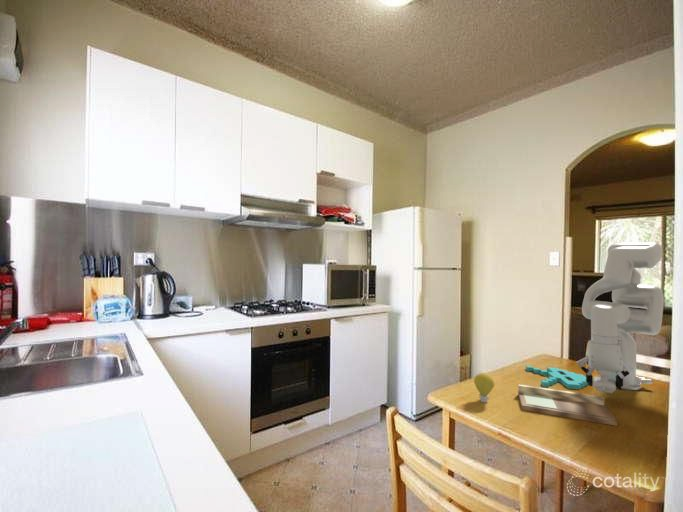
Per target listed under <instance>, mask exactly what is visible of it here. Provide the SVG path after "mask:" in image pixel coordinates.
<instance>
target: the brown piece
mask: <svg viewBox="0 0 683 512" xmlns="http://www.w3.org/2000/svg"><path fill="white" fill-rule="evenodd" d="M523 393H527V394H533V395H540V396H546V397H552V399H553V401H554V403H555V405H556V407H557V409H554V408H548V407H542V406H536V405H529V404H526V401H525V397H524V394H523ZM517 395H518V399H519V400H518V401H519V404H520V407H521V410H522V411H528V412H533V413H534V412H535V413H539V414H544V415H545V414H546V415H552V416H557V417H563V418H569V419H576V420H581V421H587V422H593V423H598V424H605V425H611V426H616V427H617V426H618V420H617V419H616V418H615V417H614V415H613V414H612V413H611V412H610V410H609V409H608V408H607V407H606V406H605V397H604V396H603V395H596V394H588V393H581V392H575V391H569V390H568V391H567V390H559V389H555V388H549V387H539V386H532V385H528V384H527V385H526V384H519V383H518V385H517Z"/></svg>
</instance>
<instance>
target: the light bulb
mask: <svg viewBox="0 0 683 512" xmlns="http://www.w3.org/2000/svg"><path fill="white" fill-rule="evenodd" d="M473 383H474V385H475V388H476V389H477V391H478V392H479V394H478V398H479V399H480V402H481V403H488V400H489V399H490V398H489V397H490V396H489V394H490V393H491V391H492V390H493V388H494V387H495V380H494V378H493V377H492V376H491V375H490V374H489V373H486V372H480V373H478V374H476V375H475V377H474V379H473Z"/></svg>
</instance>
